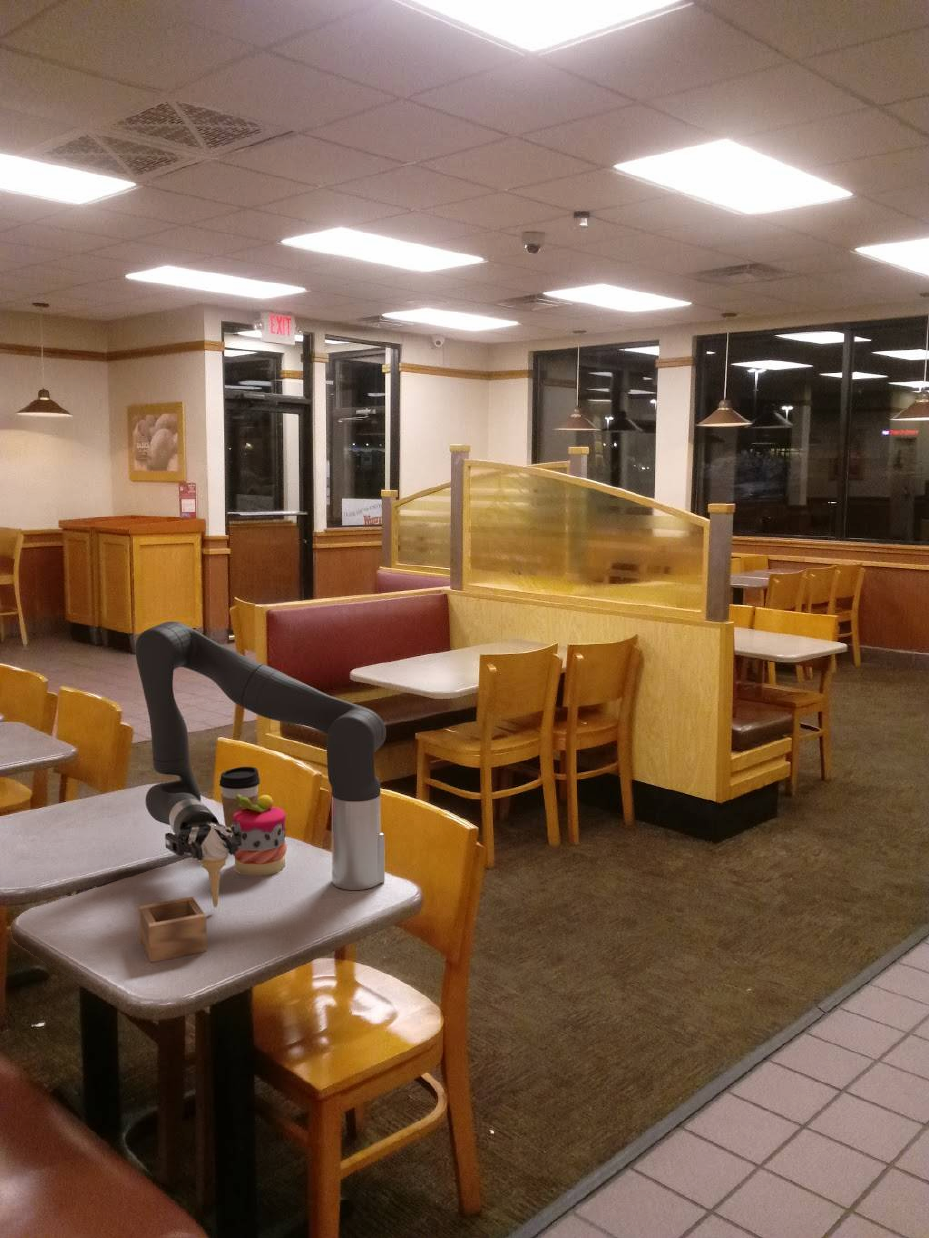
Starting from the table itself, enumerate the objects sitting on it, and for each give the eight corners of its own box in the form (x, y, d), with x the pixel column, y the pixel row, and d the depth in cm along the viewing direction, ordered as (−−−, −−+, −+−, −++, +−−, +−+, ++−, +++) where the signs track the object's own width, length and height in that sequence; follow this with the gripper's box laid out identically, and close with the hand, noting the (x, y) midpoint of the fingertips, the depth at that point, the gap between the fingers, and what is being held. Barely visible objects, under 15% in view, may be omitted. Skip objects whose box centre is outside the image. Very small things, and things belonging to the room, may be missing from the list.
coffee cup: (268, 839, 223) (267, 771, 221) (235, 849, 216) (234, 779, 214) (245, 830, 228) (244, 763, 226) (212, 839, 222) (211, 771, 220)
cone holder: (193, 930, 178) (192, 896, 177) (206, 951, 170) (205, 916, 169) (139, 940, 173) (138, 906, 173) (150, 962, 166) (149, 926, 165)
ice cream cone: (223, 914, 181) (220, 832, 179) (193, 912, 183) (190, 829, 180) (236, 901, 187) (234, 821, 185) (207, 899, 188) (204, 819, 186)
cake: (261, 853, 214) (260, 782, 212) (298, 864, 208) (297, 791, 206) (222, 868, 206) (220, 794, 204) (259, 880, 200) (257, 805, 198)
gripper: (153, 809, 192) (174, 838, 177) (230, 798, 199) (257, 824, 184) (155, 848, 193) (176, 880, 178) (231, 836, 200) (258, 865, 185)
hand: (217, 851), depth 181 cm, fingers closed on ice cream cone, 5 cm apart
